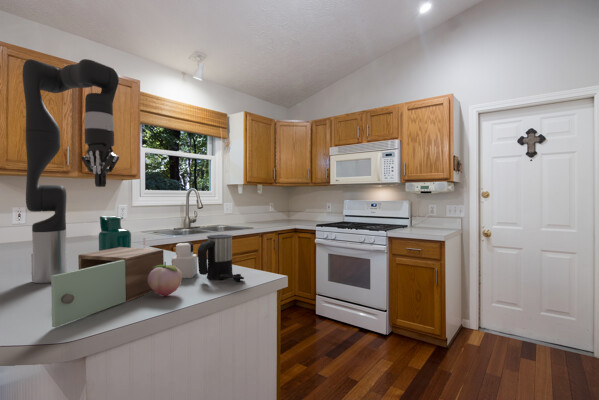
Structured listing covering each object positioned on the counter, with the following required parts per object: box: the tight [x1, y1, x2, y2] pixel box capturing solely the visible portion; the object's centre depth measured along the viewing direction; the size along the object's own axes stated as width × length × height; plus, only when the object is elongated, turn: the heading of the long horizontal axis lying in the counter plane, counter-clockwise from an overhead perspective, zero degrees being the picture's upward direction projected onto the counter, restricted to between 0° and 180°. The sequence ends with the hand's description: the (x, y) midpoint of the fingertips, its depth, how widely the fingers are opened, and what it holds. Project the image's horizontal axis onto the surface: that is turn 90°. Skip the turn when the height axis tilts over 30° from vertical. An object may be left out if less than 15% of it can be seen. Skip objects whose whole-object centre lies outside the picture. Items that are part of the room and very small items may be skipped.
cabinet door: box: [50, 260, 126, 328], centre depth 75 cm, size 18×2×11 cm, turn 160°
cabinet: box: [77, 247, 165, 303], centre depth 94 cm, size 18×14×12 cm
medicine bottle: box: [171, 241, 198, 279], centre depth 112 cm, size 7×7×12 cm
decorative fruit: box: [148, 261, 183, 297], centre depth 89 cm, size 9×8×10 cm
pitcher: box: [98, 215, 132, 251], centre depth 111 cm, size 10×8×22 cm
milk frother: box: [197, 234, 245, 283], centre depth 107 cm, size 14×16×15 cm
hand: (100, 186), depth 94 cm, fingers closed
